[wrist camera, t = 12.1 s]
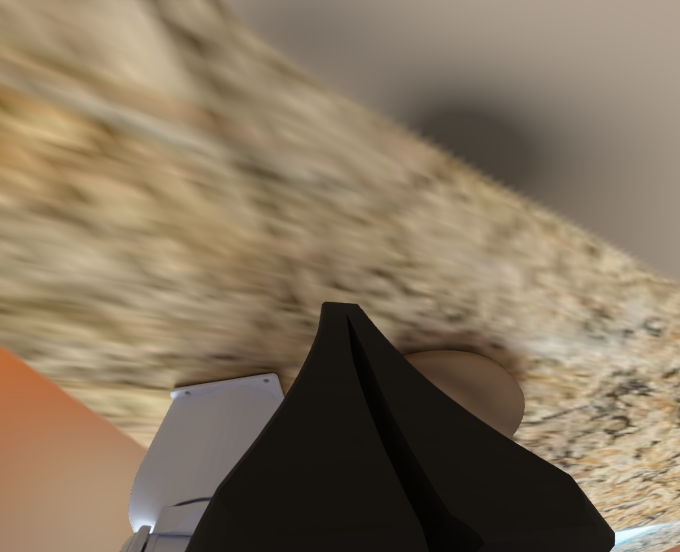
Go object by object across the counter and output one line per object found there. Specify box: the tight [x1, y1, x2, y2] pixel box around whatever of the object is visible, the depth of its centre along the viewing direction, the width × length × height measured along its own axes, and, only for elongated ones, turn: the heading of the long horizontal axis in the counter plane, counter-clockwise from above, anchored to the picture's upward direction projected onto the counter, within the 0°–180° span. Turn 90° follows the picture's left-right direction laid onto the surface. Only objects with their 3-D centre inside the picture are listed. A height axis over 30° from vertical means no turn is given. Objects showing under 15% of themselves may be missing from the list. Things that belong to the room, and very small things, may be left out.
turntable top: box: [403, 350, 525, 439], centre depth 27 cm, size 23×23×4 cm
